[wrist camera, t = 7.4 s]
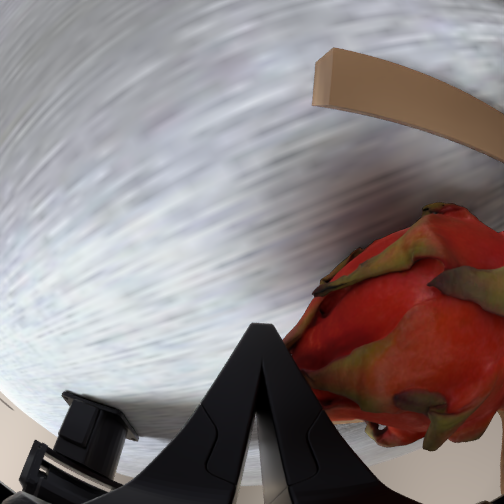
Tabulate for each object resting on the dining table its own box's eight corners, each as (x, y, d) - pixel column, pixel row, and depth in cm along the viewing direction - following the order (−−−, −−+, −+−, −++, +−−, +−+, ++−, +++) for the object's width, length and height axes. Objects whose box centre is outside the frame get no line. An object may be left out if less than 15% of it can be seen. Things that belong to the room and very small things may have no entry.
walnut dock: (474, 371, 15) (485, 394, 13) (267, 388, 15) (267, 425, 13) (565, 174, 7) (592, 189, 5) (315, 62, 7) (333, 47, 5)
